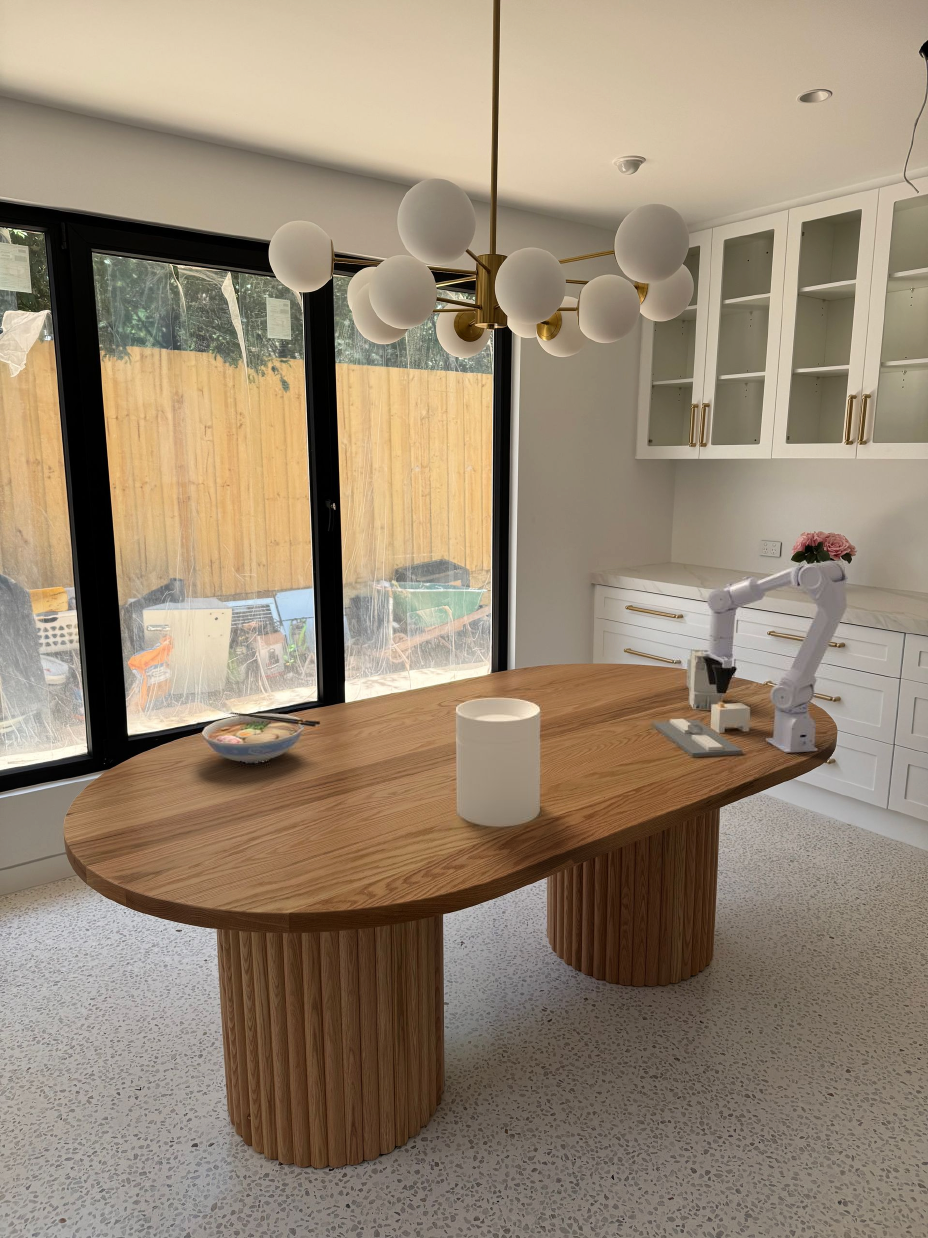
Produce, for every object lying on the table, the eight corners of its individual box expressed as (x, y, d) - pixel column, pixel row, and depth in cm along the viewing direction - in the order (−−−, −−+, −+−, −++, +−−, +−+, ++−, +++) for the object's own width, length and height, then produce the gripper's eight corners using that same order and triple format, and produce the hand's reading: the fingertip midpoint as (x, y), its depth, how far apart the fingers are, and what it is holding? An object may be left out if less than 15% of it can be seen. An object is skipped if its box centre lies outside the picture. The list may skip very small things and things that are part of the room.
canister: (556, 809, 158) (558, 708, 155) (500, 834, 147) (499, 727, 144) (496, 787, 169) (496, 693, 166) (439, 809, 158) (438, 709, 155)
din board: (741, 754, 188) (742, 746, 187) (692, 757, 186) (692, 749, 186) (696, 723, 211) (697, 716, 211) (652, 726, 209) (652, 719, 209)
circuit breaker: (711, 696, 237) (713, 645, 234) (721, 710, 223) (724, 656, 220) (685, 695, 238) (687, 645, 235) (693, 709, 224) (695, 655, 221)
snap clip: (702, 732, 197) (702, 727, 197) (692, 733, 197) (693, 728, 196) (697, 728, 200) (697, 724, 200) (687, 729, 200) (687, 724, 199)
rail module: (748, 731, 205) (750, 704, 203) (718, 733, 203) (720, 705, 202) (740, 725, 209) (741, 699, 208) (710, 727, 208) (711, 700, 207)
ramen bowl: (177, 766, 183) (175, 731, 182) (246, 737, 203) (244, 705, 202) (266, 783, 172) (264, 746, 171) (330, 751, 193) (328, 717, 191)
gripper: (698, 629, 211) (694, 680, 214) (712, 642, 197) (708, 696, 200) (725, 630, 211) (721, 681, 214) (742, 642, 197) (737, 697, 199)
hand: (717, 688), depth 207 cm, fingers open, 7 cm apart
